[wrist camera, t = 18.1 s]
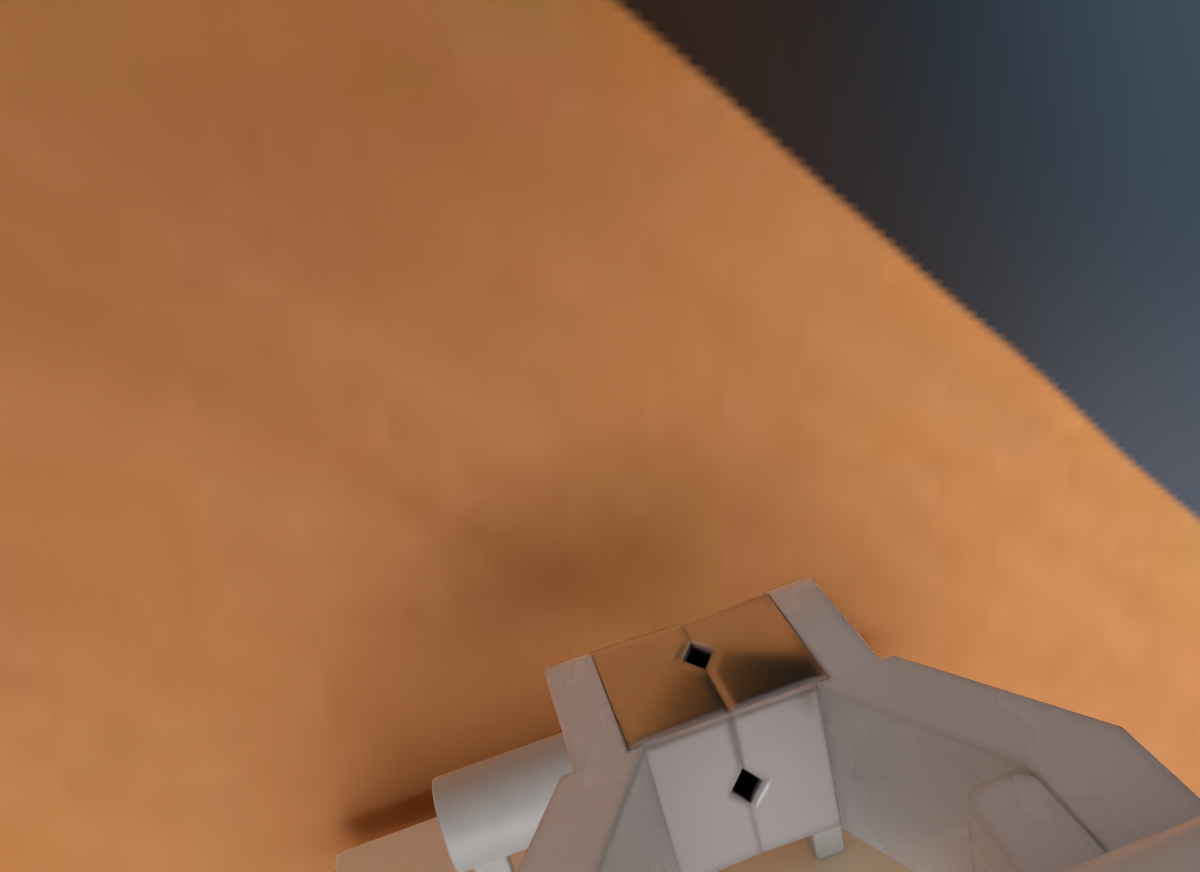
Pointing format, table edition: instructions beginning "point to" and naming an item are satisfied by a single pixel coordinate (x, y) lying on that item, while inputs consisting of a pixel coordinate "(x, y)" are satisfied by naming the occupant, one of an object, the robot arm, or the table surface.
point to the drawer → (515, 807)
